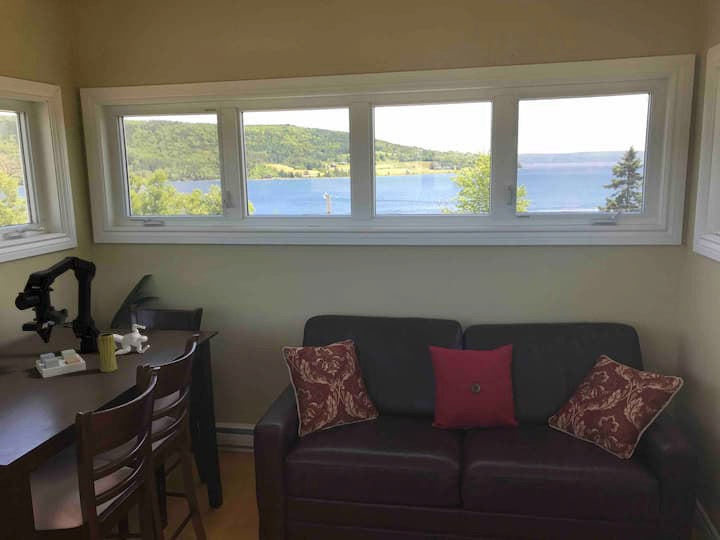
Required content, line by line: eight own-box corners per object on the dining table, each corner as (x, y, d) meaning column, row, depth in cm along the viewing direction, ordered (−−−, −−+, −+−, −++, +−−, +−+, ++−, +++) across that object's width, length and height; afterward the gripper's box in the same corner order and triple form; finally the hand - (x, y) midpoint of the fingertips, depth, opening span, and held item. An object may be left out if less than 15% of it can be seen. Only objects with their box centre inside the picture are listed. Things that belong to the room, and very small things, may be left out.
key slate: (53, 359, 228) (52, 352, 227) (55, 362, 224) (54, 355, 224) (41, 361, 225) (40, 354, 225) (42, 364, 222) (42, 357, 221)
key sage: (73, 355, 232) (72, 349, 232) (75, 358, 229) (75, 351, 228) (61, 357, 230) (61, 351, 229) (64, 360, 226) (63, 353, 226)
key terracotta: (78, 363, 227) (77, 357, 226) (80, 366, 223) (79, 359, 223) (66, 366, 224) (65, 359, 224) (68, 369, 221) (67, 362, 220)
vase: (99, 373, 219) (96, 337, 216) (102, 368, 224) (98, 333, 222) (116, 371, 220) (113, 336, 218) (118, 366, 226) (115, 332, 224)
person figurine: (99, 333, 236) (144, 321, 242) (102, 332, 248) (145, 321, 254) (107, 363, 236) (151, 350, 242) (110, 361, 248) (152, 349, 254)
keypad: (77, 360, 235) (76, 353, 234) (86, 369, 223) (85, 362, 223) (36, 367, 226) (35, 360, 225) (43, 377, 214) (42, 370, 214)
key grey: (56, 363, 222) (56, 357, 221) (59, 366, 218) (58, 359, 218) (44, 366, 219) (43, 359, 219) (46, 369, 216) (45, 362, 215)
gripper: (46, 310, 211) (50, 350, 213) (76, 299, 229) (79, 336, 232) (18, 309, 212) (23, 349, 215) (50, 299, 230) (54, 336, 233)
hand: (46, 342), depth 223 cm, fingers closed
